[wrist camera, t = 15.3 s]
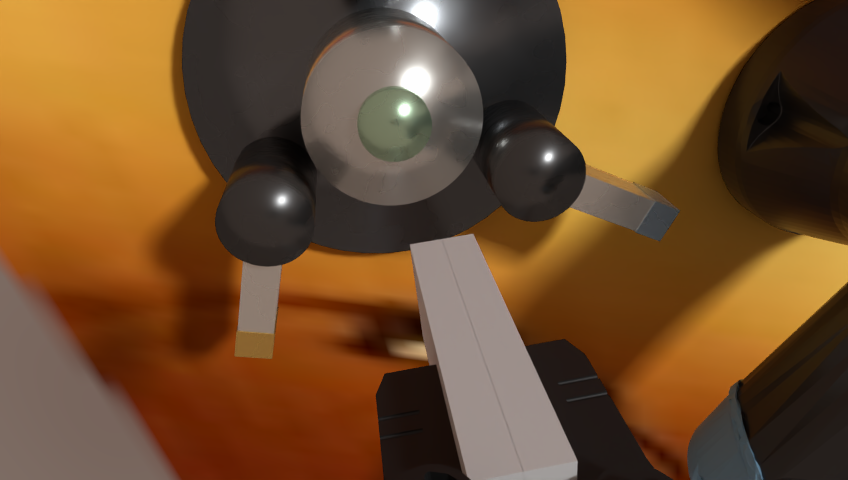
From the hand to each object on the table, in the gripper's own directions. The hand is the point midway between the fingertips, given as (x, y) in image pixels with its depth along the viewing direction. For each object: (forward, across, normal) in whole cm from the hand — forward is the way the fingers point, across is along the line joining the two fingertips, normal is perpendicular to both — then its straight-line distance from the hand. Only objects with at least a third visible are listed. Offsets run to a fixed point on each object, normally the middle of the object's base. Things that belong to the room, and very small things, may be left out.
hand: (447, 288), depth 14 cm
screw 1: (+19, -7, -6) cm, 21 cm away
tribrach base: (+20, 0, 0) cm, 20 cm away
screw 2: (+19, +9, -5) cm, 22 cm away
